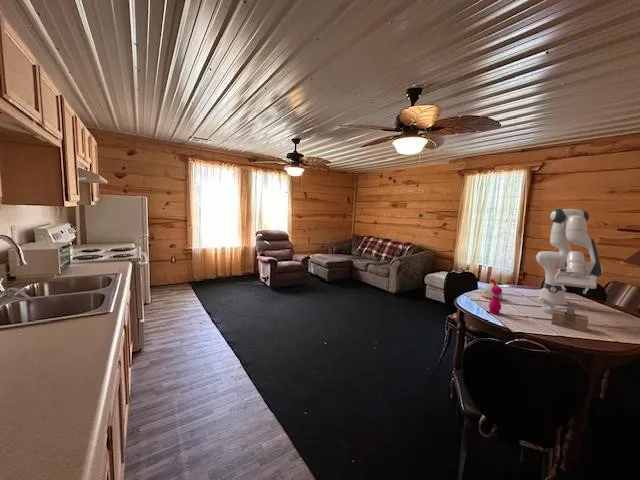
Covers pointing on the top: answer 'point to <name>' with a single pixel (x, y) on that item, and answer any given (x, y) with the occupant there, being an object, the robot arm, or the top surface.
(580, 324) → the wooden block
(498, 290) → the pepper mill
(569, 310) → the rail bracket
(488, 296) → the kitchen timer
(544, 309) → the wall hook
